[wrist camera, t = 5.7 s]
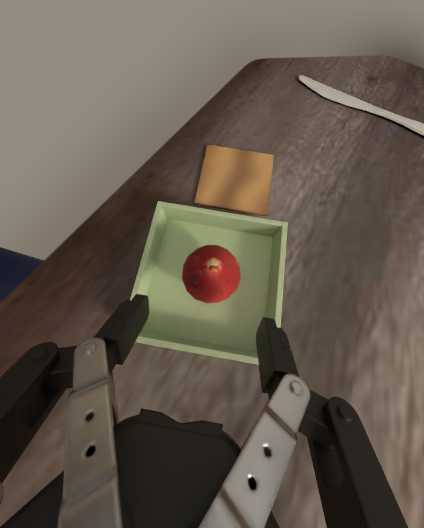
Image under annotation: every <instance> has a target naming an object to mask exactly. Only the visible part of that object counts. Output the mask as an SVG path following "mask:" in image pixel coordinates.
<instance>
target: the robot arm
mask: <svg viewBox="0 0 424 528" xmlns="http://www.w3.org/2000/svg"><path fill="white" fill-rule="evenodd" d="M148 316H149V298H148V296H147V295H141V294H136V295H135V296H134V297H133V299H132V300H126V301H125V302H123V303H122V304H120V305H119V306H118V308H117V309H116V310H115V312H114V313H113V314H112V315H111V317H110V318H109V319H108V320H107V322H106V323H105V324H104V325H103V327H102V328H101V329H100V330H99V332H98V333H97V334H96V335H95V336H94V337H93V338H91V339H88V340H85V341H84V342H82V343H81V344H80V345H79V346H73V347H65V348H58V346H57V345H56V344H55V343H53V342H45V343H41V344H38V345H36V346H34V347H32V348H31V349H29V350H28V351H27V352H26V353H25V354H24V355H23V356H22V357H21V358H20V359H19V360H18V361H17V362H16V363H15V364H14V365H13V366H12V367H11V368H10V369H8V370H7V371H6V372H5V373H4V374H3V375H2V376H1V377H0V504H1V502H2V498H3V494H4V487H3V484H2V483H3V481H4V480H5V478H6V477H7V475H8V474H9V472H10V471H11V469H12V468H13V466H14V465H15V463H16V462H17V460H18V459H19V457H20V456H21V455H22V453H23V452H24V450H25V449H26V447H27V446H28V444H29V443H30V441H31V440H32V438H33V437H34V435H35V434H36V432H37V431H38V429H39V428H40V427H41V425H42V424H43V422H44V421H45V419H46V418H47V416H48V415H49V413H50V412H51V410H52V409H53V407H54V406H55V404H56V403H57V402H58V400H59V399H60V397H61V396H62V394H63V393H64V391H65V390H66V389H67V388H73V389H72V393H70V394H69V397H68V410H67V428H66V447H65V465H64V471H63V472H62V473H61V474H59V475H58V476H57V477H56V478H55V479H54V480H53V481H51V482H50V483H49V484H48V485H47V486H46V487H45V488H44V489H42V490H41V491H40V492H39V493H38V494H37V495H36V496H35V497H33V498H32V499H31V500H30V501H29V502H28V503H27V504H26V505H24V506H23V507H22V508H21V509H20V510H19V511H18V512H17V513H15V514H14V515H13V516H12V517H11V518H10V519H9V520H8V521H6V522H5V523H4V524H3V525H2V526H1V527H0V528H280V527H279V525H278V523H277V521H276V519H275V517H274V515H273V513H272V511H271V509H272V506H273V503H274V501H275V498H276V495H277V493H278V490H279V487H280V485H281V482H282V479H283V477H284V474H285V471H286V469H287V466H288V463H289V461H290V458H291V455H292V453H293V450H294V447H295V445H296V441H297V437H296V433H297V431H299V432H300V433H302V434H304V435H305V436H307V439H308V444H309V448H310V453H311V458H312V462H313V467H314V471H315V476H316V480H317V485H318V489H319V494H320V498H321V503H322V507H323V512H324V516H325V521H326V525H327V528H408V526H407V524H406V522H405V519H404V517H403V515H402V513H401V510H400V508H399V506H398V504H397V501H396V499H395V497H394V495H393V492H392V490H391V488H390V486H389V483H388V481H387V479H386V477H385V474H384V472H383V470H382V467H381V465H380V463H379V461H378V458H377V456H376V454H375V452H374V449H373V447H372V445H371V443H370V440H369V438H368V436H367V434H366V431H365V429H364V427H363V425H362V422H361V420H360V418H359V416H358V414H357V412H356V411H355V410H354V408H353V407H352V406H351V405H350V404H349V403H348V402H346V401H345V400H343V399H341V398H339V397H331V398H330V399H329V400H328V399H326V398H324V397H322V396H320V395H318V394H316V393H315V392H313V391H311V390H310V389H309V388H308V386H307V385H306V383H305V382H304V381H303V380H302V379H301V378H300V377H299V375H298V371H297V368H296V365H295V361H294V358H293V355H292V351H291V348H290V345H289V342H288V338H287V335H286V334H285V332H284V331H283V330H282V328H278V327H277V325H276V321H275V319H272V318H267V317H262V319H261V322H260V324H259V327H258V329H257V332H256V346H257V355H258V363H259V371H260V379H261V388H262V392H264V393H268V396H269V401H268V402H267V404H266V406H265V407H264V409H263V411H262V413H261V414H260V416H259V418H258V419H257V421H256V423H255V425H254V426H253V428H252V430H251V431H250V433H249V435H248V436H247V438H246V440H245V441H244V443H243V445H242V446H241V448H240V447H239V446H238V445H237V443H236V442H235V441H234V440H233V439H232V438H231V437H230V436H229V435H228V434H227V433H225V432H224V431H222V428H223V424H219V423H213V422H208V421H203V420H202V421H195V422H187V423H179V422H177V421H175V420H174V419H172V418H170V417H168V416H167V415H165V414H163V413H162V412H157V411H152V410H147V409H141V411H140V414H139V415H135V416H132V417H129V418H127V419H124V420H123V421H121V422H120V418H119V412H118V407H117V401H116V394H115V386H114V378H113V371H112V370H113V368H114V367H115V365H116V364H120V365H123V363H124V361H125V359H126V357H127V356H128V354H129V352H130V350H131V348H132V347H133V345H134V343H135V341H136V339H137V337H138V336H139V334H140V332H141V330H142V328H143V327H144V325H145V323H146V321H147V319H148Z"/></svg>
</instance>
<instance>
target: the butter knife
mask: <svg viewBox="0 0 424 528" xmlns="http://www.w3.org/2000/svg"><path fill="white" fill-rule="evenodd" d="M299 80H300V81H302V82H303V83H304V84H306V85H307V86H308V87H310V88H311V89H313V90H314V91H316V92H317V93H319V94H320V95H322V96H323V97H325V98H328V99H330V100H333V101H336V102H338V103H341V104H344V105H347V106H350V107H354V108H358V109H361V110H365V111H368V112H371V113H374V114H377V115H380V116H383V117H386V118H388V119H390V120H393V121H395V122H397V123H400V124H402V125H404V126H406V127H408V128H410V129H411V130H413V131H415V132H417V133H419V134H421V135H423V136H424V124H423V123H420V122H417V121H414V120H411V119H408V118H405V117H402V116H399V115H397V114H394V113H391V112H389V111H386V110H384V109H381V108H378V107H375V106H373V105H371V104H368V103H366V102H364V101H362V100H359V99H357V98H355V97H352V96H350V95H348V94H345V93H343V92H341V91H338V90H336V89H333V88H331V87H329V86H326V85H324V84H321V83H319V82H316V81H314V80H312V79H310V78H308V77H305V76H303V75H301V76H299Z"/></svg>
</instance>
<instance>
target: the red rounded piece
mask: <svg viewBox="0 0 424 528" xmlns="http://www.w3.org/2000/svg"><path fill="white" fill-rule="evenodd" d="M182 280H183V283H184V286H185V288H186V291H187V292H188V293H189V294H190V295H191V296H192V297H193V298H194V299H196V300H198V301H201V302H204V303H219V302H221V301H223V300H226V299H228V298H229V297H230V296H231V295H232V294H233V293H234V292H235V291H236V290H237V288H238V285H239V283H240V280H241V273H240V266H239V264H238V262H237V260H236V258H235V256H234V255H233V254H232V253H231V252H229V251H228V250H227V249H225V248H223V247H221V246H218V245H205V246H202V247H200V248H197V249H196V250H195V251H193V252H192V253H191V254H190V255H188V257H187V259H186V261H185V263H184V265H183V273H182Z"/></svg>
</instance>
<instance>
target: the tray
mask: <svg viewBox="0 0 424 528" xmlns="http://www.w3.org/2000/svg"><path fill="white" fill-rule="evenodd" d="M287 225H288V222H281V221H275V220H269V219H263V218H257V217H251V216H245V215H239V214H233V213H227V212H221V211H215V210H209V209H203V208H197V207H191V206H185V205H179V204H173V203H167V202H161V201H158V203H157V206H156V210H155V213H154V217H153V220H152V224H151V227H150V231H149V235H148V238H147V242H146V245H145V249H144V252H143V256H142V259H141V263H140V266H139V270H138V273H137V277H136V280H135V284H134V287H133V291H132V294H131V298H130V300H132V299H133V297H134V296H135V295H136V294H141V295H147V296H148V298H149V316H148V319H147V321H146V323H145V325H144V327H143V328H142V330H141V332H140V334H139V336H138V337H137V339H136V341H135V342H137V343H143V344H148V345H154V346H159V347H165V348H170V349H176V350H181V351H186V352H192V353H197V354H203V355H208V356H214V357H219V358H225V359H230V360H235V361H241V362H246V363H252V364H257V365H259V363H258V355H257V346H256V332H257V329H258V327H259V324H260V322H261V319H262V317H267V318H272V319H275V321H276V325H277V327H278V328H280V325H281V310H282V296H283V282H284V268H285V254H286V239H287ZM205 245H218V246H221V247H223V248H225V249H227V250H228V251H229V252H231V253H232V254H233V255H234V256H235V258H236V260H237V262H238V264H239V266H240V273H241V280H240V283H239V285H238V288H237V290H236V291H235V292H234V293H233V294H232V295H231V296H230V297H229V298H228V299H226V300H223V301H221V302H219V303H204V302H201V301H198V300H196V299H194V298H193V297H192V296H191V295H190V294H189V293H188V292H187V291H186V288H185V286H184V283H183V280H182V273H183V265H184V263H185V261H186V259H187V257H188V255H190V254H191V253H192V252H193V251H195V250H196V249H197V248H200V247H202V246H205Z"/></svg>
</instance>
